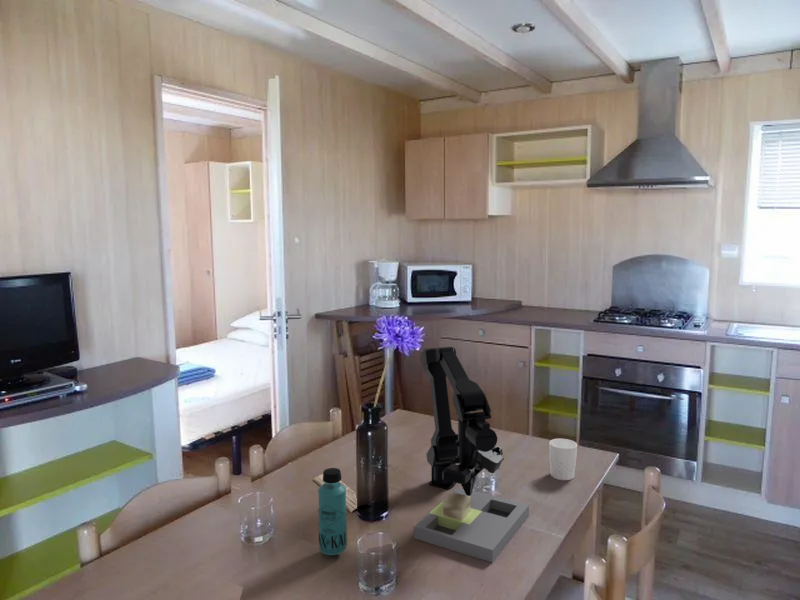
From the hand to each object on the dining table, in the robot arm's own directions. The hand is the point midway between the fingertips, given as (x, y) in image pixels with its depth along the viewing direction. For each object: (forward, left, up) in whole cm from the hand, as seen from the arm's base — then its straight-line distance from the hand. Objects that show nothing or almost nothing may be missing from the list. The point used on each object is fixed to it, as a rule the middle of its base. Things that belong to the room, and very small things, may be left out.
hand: (468, 495), depth 152 cm
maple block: (0, -7, -2) cm, 7 cm away
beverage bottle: (-18, -33, -5) cm, 38 cm away
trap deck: (+4, -6, -5) cm, 9 cm away
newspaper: (-35, -7, -6) cm, 36 cm away
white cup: (+15, +34, -5) cm, 37 cm away
